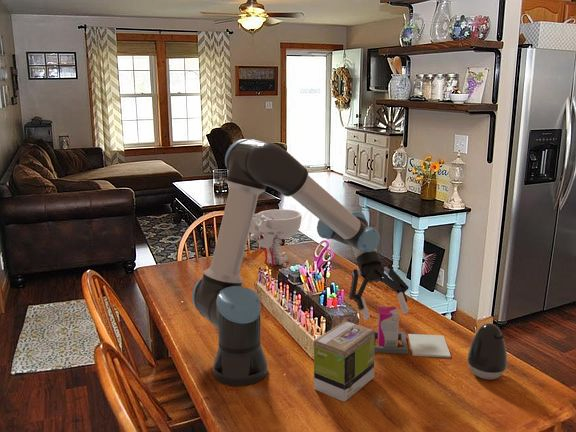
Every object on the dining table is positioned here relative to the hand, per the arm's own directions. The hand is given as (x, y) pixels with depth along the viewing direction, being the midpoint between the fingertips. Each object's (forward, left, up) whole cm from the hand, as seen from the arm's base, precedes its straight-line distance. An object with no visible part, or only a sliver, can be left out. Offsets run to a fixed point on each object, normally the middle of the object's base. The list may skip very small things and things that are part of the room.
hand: (387, 315), depth 166 cm
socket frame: (-3, 0, -8) cm, 9 cm away
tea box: (-27, +13, -8) cm, 31 cm away
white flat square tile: (-3, -13, -8) cm, 15 cm away
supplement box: (-3, 0, -8) cm, 9 cm away
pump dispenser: (-18, -26, -8) cm, 33 cm away
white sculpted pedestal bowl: (+66, +45, -8) cm, 80 cm away
